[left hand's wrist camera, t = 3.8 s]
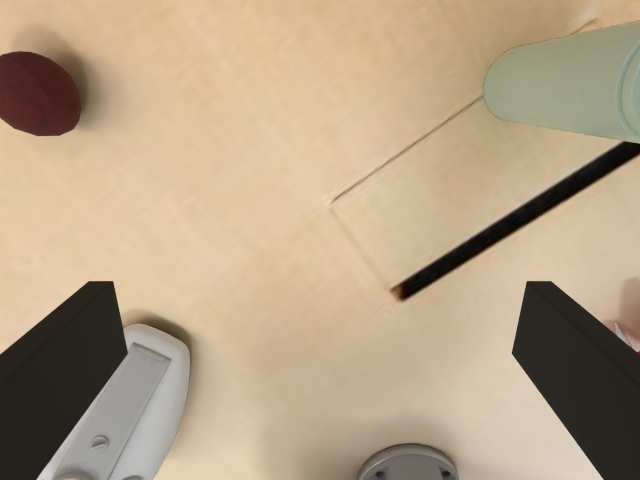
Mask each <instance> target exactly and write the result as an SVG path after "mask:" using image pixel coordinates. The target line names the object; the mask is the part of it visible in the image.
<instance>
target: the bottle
mask: <svg viewBox="0 0 640 480" xmlns="http://www.w3.org/2000/svg"><path fill="white" fill-rule="evenodd" d="M483 95H484V100H485V103H486V105H487V107H488V109H489V111H490V112H491V113H492V114H493V115H494V116H496V117H497V118H499V119H501V120H504V121H508V122H514V123H520V124H526V125H532V126H538V127H544V128H550V129H556V130H562V131H568V132H574V133H580V134H586V135H592V136H598V137H605V138H611V139H617V140H623V141H629V142H635V143H640V20H637V21H633V22H628V23H624V24H619V25H615V26H610V27H606V28H601V29H597V30H592V31H587V32H583V33H578V34H574V35H569V36H565V37H560V38H556V39H551V40H547V41H542V42H538V43H533V44H528V45H524V46H519V47H515V48H512V49H510V50H508V51H506V52H505V53H503V54H502V55H501V56H499V57H498V58H497V59H496V60H495V61H494V63H493V64H492V65H491V67H490V69H489V70H488V72H487V74H486V77H485V81H484V87H483Z"/></svg>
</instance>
